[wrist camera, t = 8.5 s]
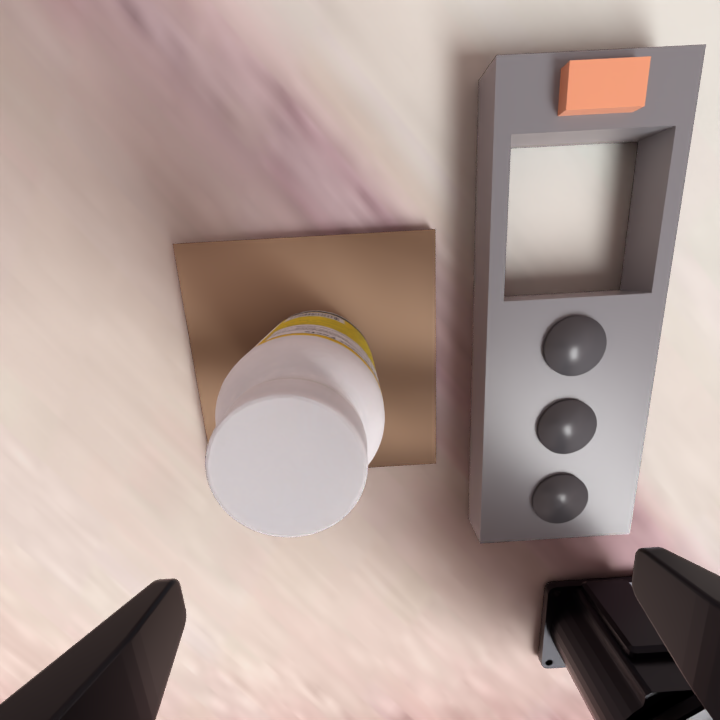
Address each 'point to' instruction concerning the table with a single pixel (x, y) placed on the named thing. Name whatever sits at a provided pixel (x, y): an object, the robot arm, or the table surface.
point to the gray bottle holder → (573, 296)
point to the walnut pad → (323, 293)
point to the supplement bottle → (297, 427)
